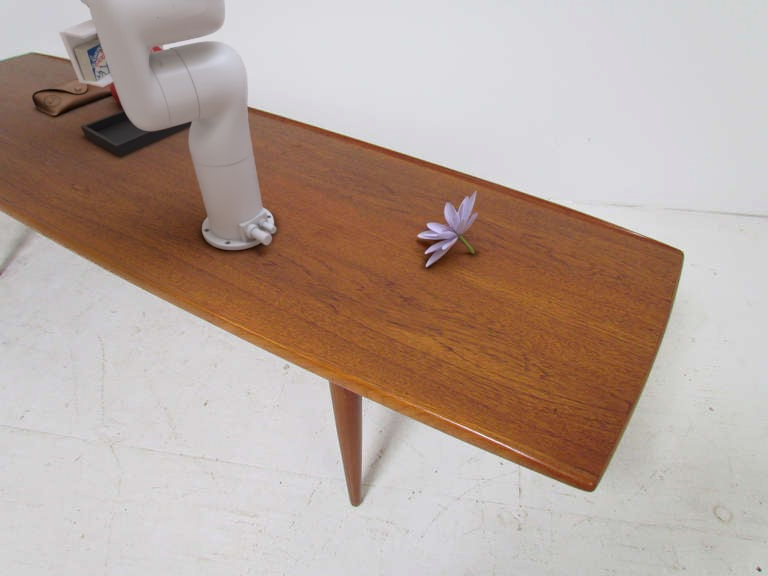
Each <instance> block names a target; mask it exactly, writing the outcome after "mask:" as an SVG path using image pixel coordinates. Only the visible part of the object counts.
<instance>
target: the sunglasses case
mask: <svg viewBox="0 0 768 576" xmlns="http://www.w3.org/2000/svg"><path fill="white" fill-rule="evenodd" d="M110 85H111V83H110V84H108V85H106V86H104V87H99V86H95V85H91V84H86V83H80V82H79V80H78V78H75V79H72V80H69V81H66V82H63V83H60V84H58V85H54V86H51V87H49V88H43V89H40V90H36V91H34V93H32V96H31V100H32V103H33V104H34V106H35V108H36V109H37V110H38V111H40V112H43V113H45V114H47V115H50V116H53V117H55V116H59V115H61V114H63V113H65V112H68V111H70V110H73V109H76V108H79V107H82V106H85V105H88V104H90V103H93V102H97V101H100V100H101V99H104V98H108V97H109V96H112V93H111V89H110Z"/></svg>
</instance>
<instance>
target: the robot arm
mask: <svg viewBox="0 0 768 576" xmlns="http://www.w3.org/2000/svg"><path fill="white" fill-rule="evenodd" d="M79 1H80V2H81V4H84V5H85V6H87V8H88V10H89V13H90V16H91V19H93V22H94V25H95V28H96V31H97V34H98V37H99V40H100V43H101V46H102V49H103V52H104V55H105V58H106V61H107V64H108V67H109V70H110V73H111V76H112V79H113V82H114V85H115V88H116V91H117V94H118V97H119V100H120V102H121V107H122V109H123V110H124V111H125V113H126V115H127V117H128V118H129V120H130V121H131V122H132V123H133V124H134V125H135V126H136V127H137V128H139V129H141V130H144V131H158V130H162V129H166V128H170V127H173V126H177V125H180V124H184V123H187V122H191V121H192V123H191V126H190V127H189V129H188V130H189V131H188V137H187V141H188V142H187V143H188V144H187V145H188V150H189V153H190V157H191V161H192V165H193V168H194V172H195V176H196V179H197V183H198V187H199V190H200V194H201V197H202V201H203V205H204V209H205V212H206V218H205V219H204V220H203V222H202V224H201V232H202V235H203V238H204V240H205V241H206V242H207V243H208V244H209V245H210V246H212V247H214V248H217V249H221V250H224V251H225V250H227V251H240V250H241V251H242V250H246V249H250V248H253V247H256V246H258V245H260V244H262V245H264V246H268V245H270V244H271V243H272V240H273V236H272V234H275V233H276V232H277V230H278V229H277V226H275V219H274V216H273V214H272V213H271V211H270V210H268V209H267V208H265V207H264V206H263V200H262V195H261V189H260V183H259V177H258V173H257V166H256V161H255V155H254V149H253V143H252V136H251V130H250V123H249V109H248V105H249V104H248V101H249V99H248V98H249V82H248V81H249V80H248V73H247V69H246V65H245V63H244V61H243V59H242V57H241V55H240V54H239V52H238V51H237V50H235V48H234V47H232V46H230V44H227V43H224V42H221V41H217V40H216V41H215V40H204V41H198V42H193V43H188V44H183V45H178V46H173V47H169V48H167V49H164V50H161V51H157V52H152V53H150V51H151V49H152V48H153V47H156V46H161V45H163V46H166V45H171V44H176V43H180V42H185V41H190V40H195V39H199V38H203V37H207V36H209V35H213V34H214V33H216V32H219V30H220V29H221V28H222V27H223V25H224V23H225V18H226V4H225V0H79Z"/></svg>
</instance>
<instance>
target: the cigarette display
mask: <svg viewBox="0 0 768 576" xmlns="http://www.w3.org/2000/svg"><path fill="white" fill-rule="evenodd" d="M58 34H59V36H60V38H61V40H62V44H63V46H64V48H65V50H66V52H67V56H68V58H69V61H70V62H71V65H72V67H73V70H74V73H75V75H76V77H77V79H78V80H79V82H80V83H86V84H91V85H95V86H99V87H104V86H106V85H108V84H110V85H111V83H112V82H113V79H112V76H111V73H110V70H109V67H108V64H107V61H106V58H105V55H104V52H103V49H102V46H101V43H100V40H99V37H98V34H97V31H96V28H95V25H94V22H93V19H92V18H91V19H89V20H86V21H84V22H81V23H78V24H76V25H73V26H70V27H68V28H65V29H62V30H60V31H58ZM161 50H165V49H164V45H161V46H156V47H153V48H152V49H151V51H150V53H152V52H157V51H161Z"/></svg>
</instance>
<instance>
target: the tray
mask: <svg viewBox="0 0 768 576" xmlns="http://www.w3.org/2000/svg"><path fill="white" fill-rule="evenodd" d="M191 123H192V121H191V122H187V123H184V124H180V125H177V126H173V127H170V128H166V129H162V130H158V131H144V130H141V129H139V128H137V127H136V126H135V125H134V124H133V123H132V122H131V121H130V120H129V118H128V117H127V115H126V113H125V111H124V109H123V110H119V111H117V112H115V113H112V114H110V115H107V116H104V117H101V118H98V119H96V120H94V121H90V122H89V123H86V124H82V125H81V126H80V128H81V130H82V132H83V135H84V137H85V138H86V139H88V140H90V141H91V142H93V143H95V144H97V145H98V146H100V147H101V148H103V149H105V150H107V151H109V152H111V153H113V155H116V156H118V157H119V158H122V157H124V156H126V155H128V154H130V153H133V152H135V151H137V150H139V149H142V148H144V147H146V146H149V145H152V144H154V143H156V142H158V141H160V140H162V139H165V138H167V137H169V136H171V135H174V134H176V133H179V132H180V131H183V130H185V129H188V128H190V126H191Z"/></svg>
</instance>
